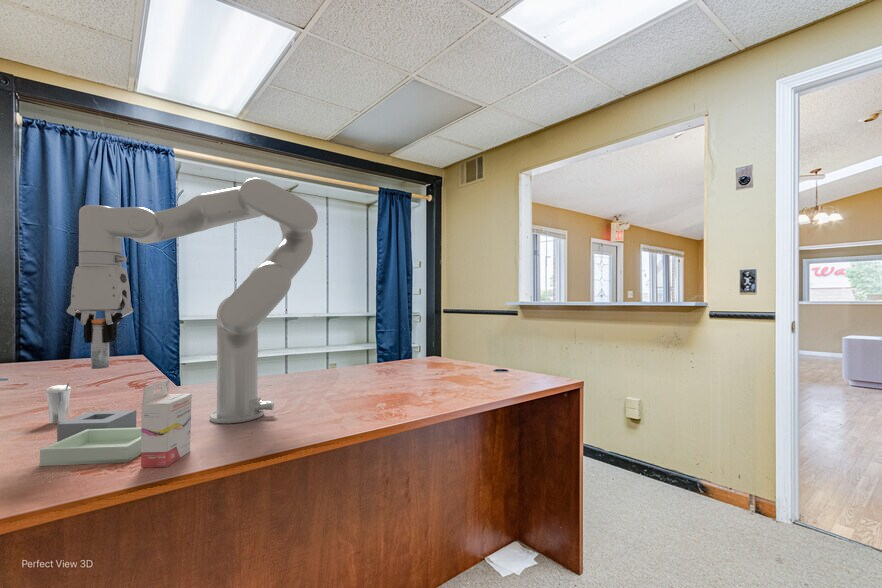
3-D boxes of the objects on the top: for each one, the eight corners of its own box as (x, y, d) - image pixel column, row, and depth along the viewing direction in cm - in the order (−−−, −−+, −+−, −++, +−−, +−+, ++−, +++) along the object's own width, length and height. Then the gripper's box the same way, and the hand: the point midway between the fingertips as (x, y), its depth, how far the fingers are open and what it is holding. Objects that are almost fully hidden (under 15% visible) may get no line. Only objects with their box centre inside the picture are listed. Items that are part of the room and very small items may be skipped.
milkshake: (58, 425, 101) (58, 384, 101) (40, 424, 102) (41, 383, 102) (78, 420, 105) (78, 380, 106) (61, 418, 107) (61, 379, 107)
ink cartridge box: (168, 467, 76) (169, 387, 77) (139, 468, 76) (140, 387, 76) (192, 450, 85) (192, 378, 85) (166, 451, 85) (167, 378, 85)
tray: (162, 440, 91) (162, 426, 91) (127, 462, 79) (127, 446, 79) (87, 443, 89) (87, 429, 89) (39, 465, 77) (40, 449, 77)
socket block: (136, 426, 100) (136, 410, 100) (108, 441, 90) (108, 422, 90) (90, 428, 99) (90, 411, 99) (57, 442, 89) (57, 424, 89)
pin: (112, 366, 97) (113, 318, 97) (103, 368, 93) (103, 319, 93) (97, 366, 96) (97, 318, 96) (87, 369, 93) (87, 319, 93)
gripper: (149, 262, 100) (148, 339, 100) (73, 262, 98) (73, 340, 98) (129, 260, 92) (129, 343, 92) (47, 259, 90) (46, 344, 90)
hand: (100, 341), depth 95 cm, fingers closed on pin, 3 cm apart
